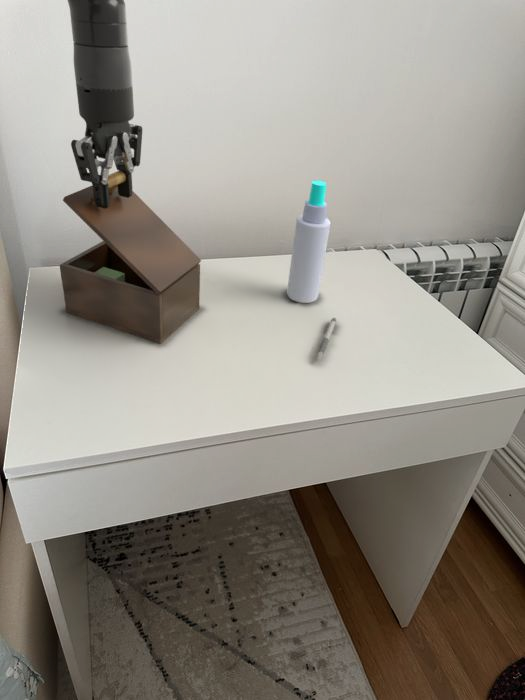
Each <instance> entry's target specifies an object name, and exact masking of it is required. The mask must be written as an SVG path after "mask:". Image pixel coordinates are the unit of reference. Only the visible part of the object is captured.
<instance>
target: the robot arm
mask: <svg viewBox="0 0 525 700" xmlns="http://www.w3.org/2000/svg"><path fill="white" fill-rule="evenodd" d="M67 3H68V7H69V15H70V25H71V33H72V34H71V35H72V41H73V69H74V80H75V86H76V96H77V105H78V113H79V116H80V118H81V119H83V120H84V122H85V126H86V127H85V132H84V137H82V138H80V140H78V139H72V140H71V143H70V147H71V150H72V153H73V158H74V161H75V164H76V167H77V170H78V174H79V178H80V180H81V181H84V182H89V183H91V186H92V185H93V194H94V202H95V204H96V205H97V206H98V207H101V208H105V209H106V208H108V207H110V196H109V185H108V183H107V181H108V175H110V174H109V173H110V170H111V169H112V168H113V166H114V165H115V168H116V170H117V171H122V172H123V173H124V174H125V176H126V180H125V182H123V183H121V184H118V194H119V195H120V196H123V197H127V198H129V197H131V196H132V191H133V175H132V174H133V173H134V171H135V167H139V166H140V165H141V159H142V158H141V155H142V142H143V127H142V125H138V124H133V123H130V121H131V120H133V119H134V117H135V108H134V107H135V106H134V92H133V91H134V89H133V74H132V73H133V72H132V61H131V56H130V50H129V38H128V37H129V34H128V20H127V17H128V16H127V7H126V2H125V0H67ZM132 150H133V152H132ZM98 158H99V159H104V160H99V159H98ZM99 168H100V173H99Z"/></svg>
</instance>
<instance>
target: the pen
mask: <svg viewBox="0 0 525 700" xmlns="http://www.w3.org/2000/svg"><path fill="white" fill-rule="evenodd" d="M336 323H337V319H336V317H332V318H331V320H330V322H329V324H328V327H327V329H326V331H325V334H324V336H323V338H322V340H321V343H320V345H319V347H318V350H317V353H316V361H317V362H319V361H321V359H322V357H323V356H324V353H325V352H326V349H327V346H328V343H329V341H330V338H331V336H332V334H333V331H334V329H335V325H336Z"/></svg>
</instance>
